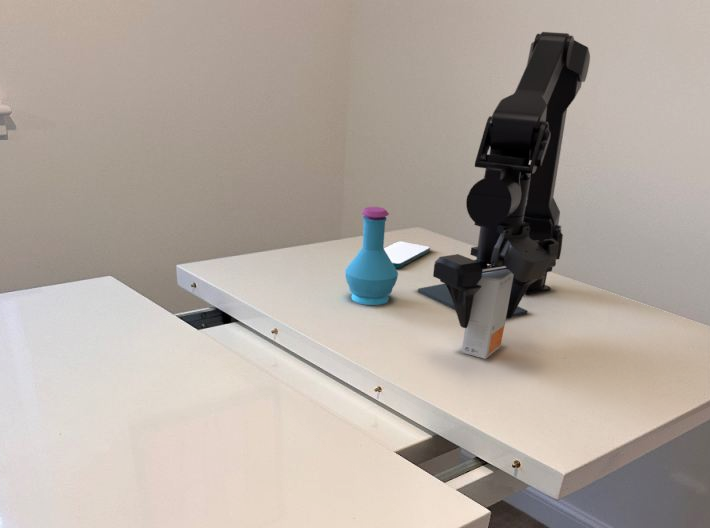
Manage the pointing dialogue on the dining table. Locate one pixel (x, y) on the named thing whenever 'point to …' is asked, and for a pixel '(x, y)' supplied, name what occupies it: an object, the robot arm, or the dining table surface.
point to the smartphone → (405, 252)
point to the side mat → (443, 296)
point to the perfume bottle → (372, 263)
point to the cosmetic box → (488, 314)
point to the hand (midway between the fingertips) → (486, 322)
